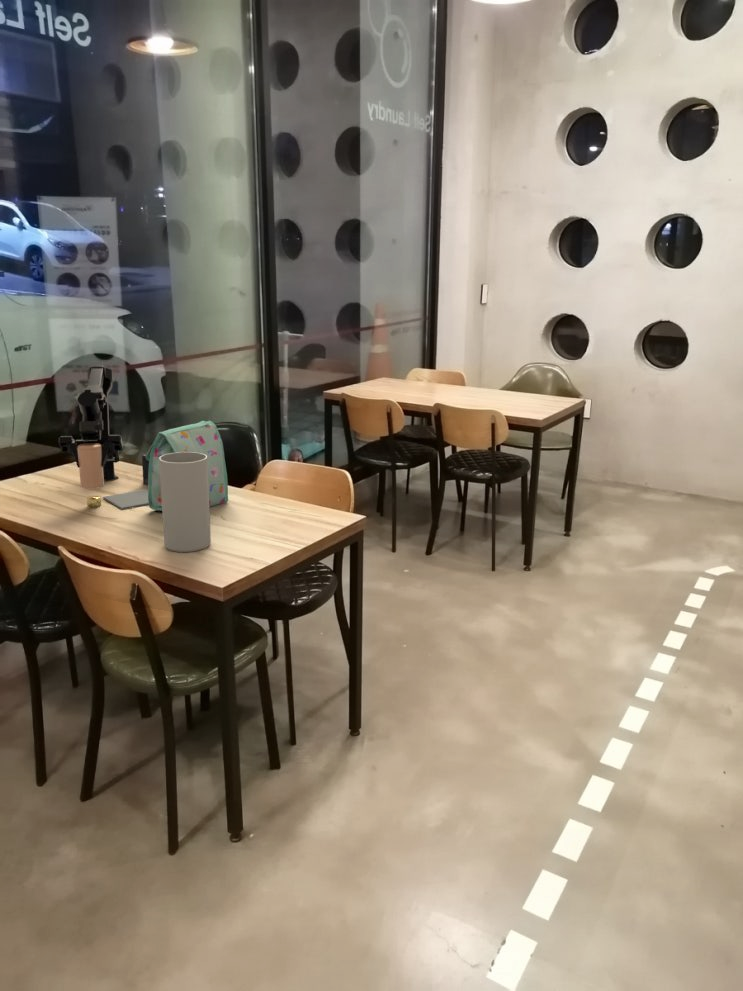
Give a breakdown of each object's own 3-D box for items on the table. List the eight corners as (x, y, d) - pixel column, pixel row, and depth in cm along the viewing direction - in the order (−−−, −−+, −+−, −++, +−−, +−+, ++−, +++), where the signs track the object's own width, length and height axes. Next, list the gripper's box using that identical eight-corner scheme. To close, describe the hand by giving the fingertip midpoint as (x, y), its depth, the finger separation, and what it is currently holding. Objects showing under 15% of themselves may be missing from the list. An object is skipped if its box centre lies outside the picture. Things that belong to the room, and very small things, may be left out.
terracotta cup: (77, 484, 244) (74, 444, 240) (99, 481, 248) (95, 442, 244) (85, 489, 239) (82, 449, 235) (107, 486, 243) (104, 446, 239)
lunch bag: (198, 494, 260) (194, 415, 253) (233, 502, 252) (230, 421, 244) (143, 510, 242) (138, 426, 234) (180, 520, 233) (175, 433, 226)
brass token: (85, 506, 245) (84, 497, 245) (98, 504, 248) (97, 495, 247) (90, 509, 242) (89, 500, 242) (102, 507, 245) (102, 497, 244)
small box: (160, 485, 269) (158, 456, 266) (142, 484, 270) (140, 455, 267) (172, 478, 279) (170, 449, 276) (155, 477, 280) (153, 448, 277)
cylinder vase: (192, 534, 221) (188, 449, 214) (220, 544, 214) (216, 457, 207) (155, 545, 212) (149, 457, 205) (183, 556, 204) (178, 465, 197)
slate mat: (103, 498, 253) (103, 496, 253) (146, 491, 263) (146, 489, 262) (121, 509, 242) (121, 507, 242) (166, 501, 252) (166, 499, 251)
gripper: (56, 410, 238) (53, 453, 231) (119, 409, 242) (118, 452, 235) (62, 430, 248) (60, 472, 241) (123, 429, 252) (122, 470, 245)
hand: (90, 466), depth 240 cm, fingers closed on terracotta cup, 7 cm apart
